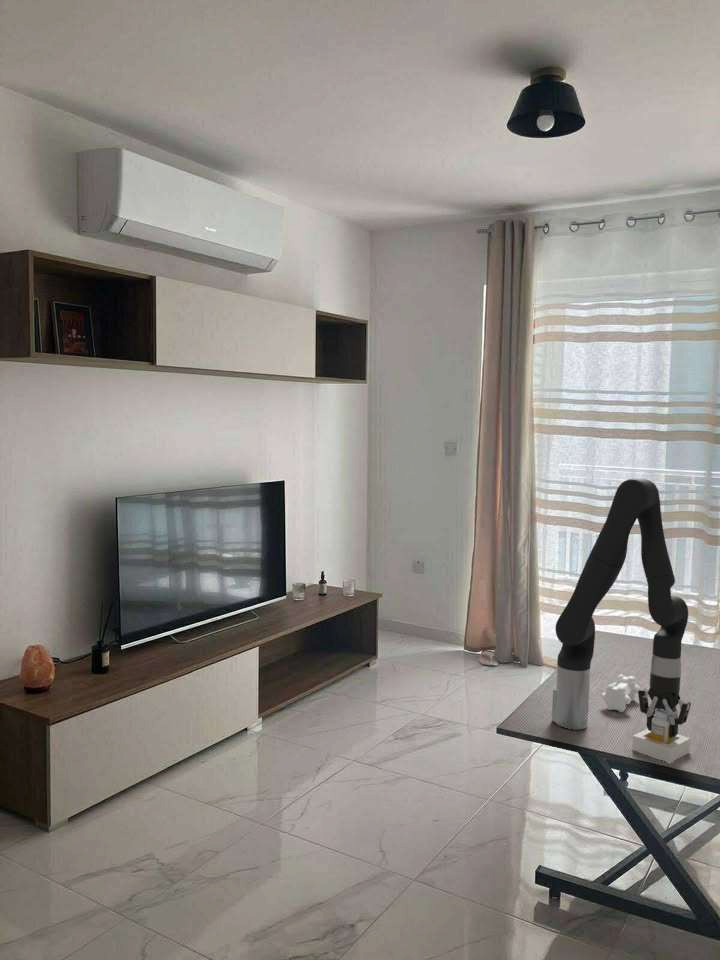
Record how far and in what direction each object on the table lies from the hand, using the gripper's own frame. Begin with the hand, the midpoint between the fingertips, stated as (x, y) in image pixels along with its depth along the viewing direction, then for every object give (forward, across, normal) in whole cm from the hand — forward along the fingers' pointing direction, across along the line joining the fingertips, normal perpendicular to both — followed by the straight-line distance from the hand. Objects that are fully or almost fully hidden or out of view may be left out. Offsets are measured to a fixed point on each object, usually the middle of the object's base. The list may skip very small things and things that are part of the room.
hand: (661, 733), depth 213 cm
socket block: (+5, 0, 0) cm, 5 cm away
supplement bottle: (+4, 0, 0) cm, 4 cm away
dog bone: (+5, -25, +23) cm, 35 cm away
